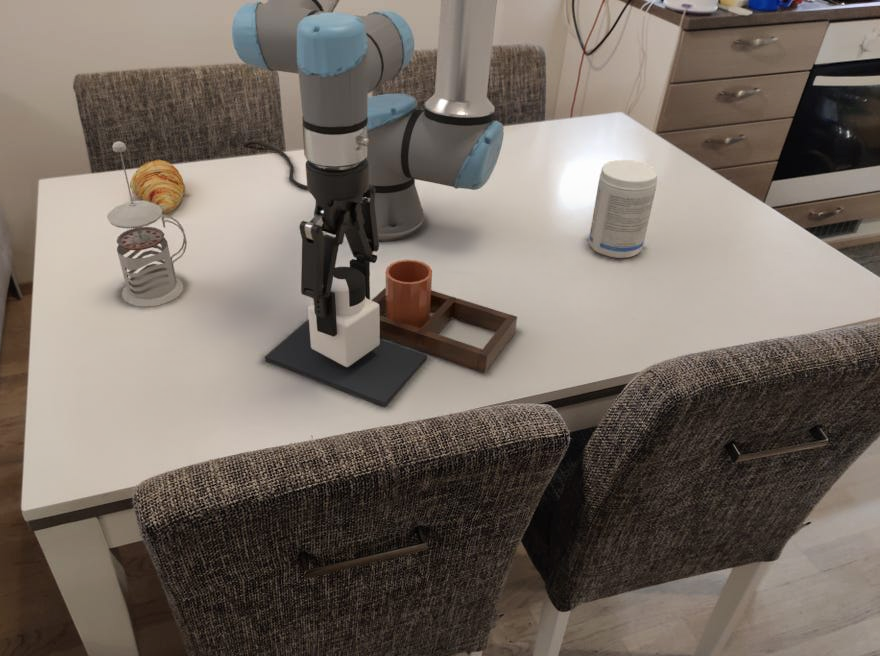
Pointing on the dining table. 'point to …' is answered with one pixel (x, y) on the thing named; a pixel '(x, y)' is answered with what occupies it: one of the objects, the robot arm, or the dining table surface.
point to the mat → (364, 378)
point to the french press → (153, 279)
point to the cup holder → (444, 312)
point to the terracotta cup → (408, 292)
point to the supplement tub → (622, 208)
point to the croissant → (158, 184)
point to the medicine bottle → (348, 320)
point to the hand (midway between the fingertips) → (344, 316)
